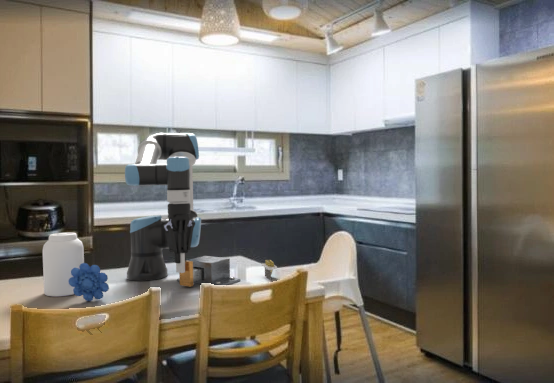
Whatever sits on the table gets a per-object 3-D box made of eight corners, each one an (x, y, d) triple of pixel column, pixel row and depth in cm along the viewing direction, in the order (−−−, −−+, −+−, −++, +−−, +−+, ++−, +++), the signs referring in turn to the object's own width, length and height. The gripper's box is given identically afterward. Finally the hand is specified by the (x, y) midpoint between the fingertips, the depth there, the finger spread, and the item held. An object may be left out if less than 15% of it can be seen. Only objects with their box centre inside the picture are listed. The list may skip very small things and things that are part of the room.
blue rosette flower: (66, 306, 133) (64, 266, 132) (70, 300, 139) (69, 262, 139) (107, 303, 135) (106, 264, 135) (110, 297, 142) (109, 260, 142)
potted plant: (278, 272, 176) (278, 256, 176) (292, 282, 159) (292, 264, 158) (249, 275, 173) (248, 258, 172) (260, 285, 155) (259, 267, 155)
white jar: (82, 295, 145) (80, 234, 145) (40, 298, 142) (37, 236, 141) (87, 286, 157) (85, 230, 157) (48, 289, 154) (46, 232, 153)
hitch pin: (179, 285, 153) (179, 260, 153) (210, 276, 166) (209, 253, 166) (190, 286, 151) (189, 262, 150) (220, 277, 164) (219, 255, 163)
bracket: (176, 281, 163) (176, 259, 162) (199, 275, 173) (199, 254, 172) (218, 287, 152) (218, 264, 151) (240, 280, 162) (239, 258, 161)
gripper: (172, 204, 142) (174, 277, 143) (200, 201, 153) (202, 269, 154) (156, 203, 147) (158, 274, 147) (185, 201, 157) (186, 267, 158)
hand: (180, 272), depth 151 cm, fingers closed
